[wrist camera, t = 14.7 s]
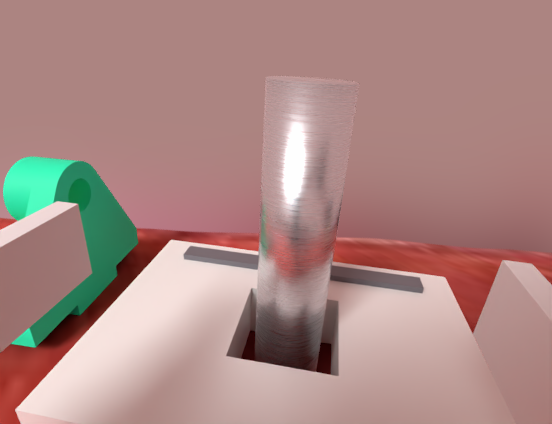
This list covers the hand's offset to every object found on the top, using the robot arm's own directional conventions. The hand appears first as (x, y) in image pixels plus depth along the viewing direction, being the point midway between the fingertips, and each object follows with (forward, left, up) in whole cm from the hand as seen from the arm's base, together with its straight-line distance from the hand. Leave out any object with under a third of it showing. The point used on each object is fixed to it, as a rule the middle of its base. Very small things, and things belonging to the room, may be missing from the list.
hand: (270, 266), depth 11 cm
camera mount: (+17, +10, -11) cm, 23 cm away
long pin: (+4, -3, -11) cm, 12 cm away
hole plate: (+4, -3, -11) cm, 12 cm away
